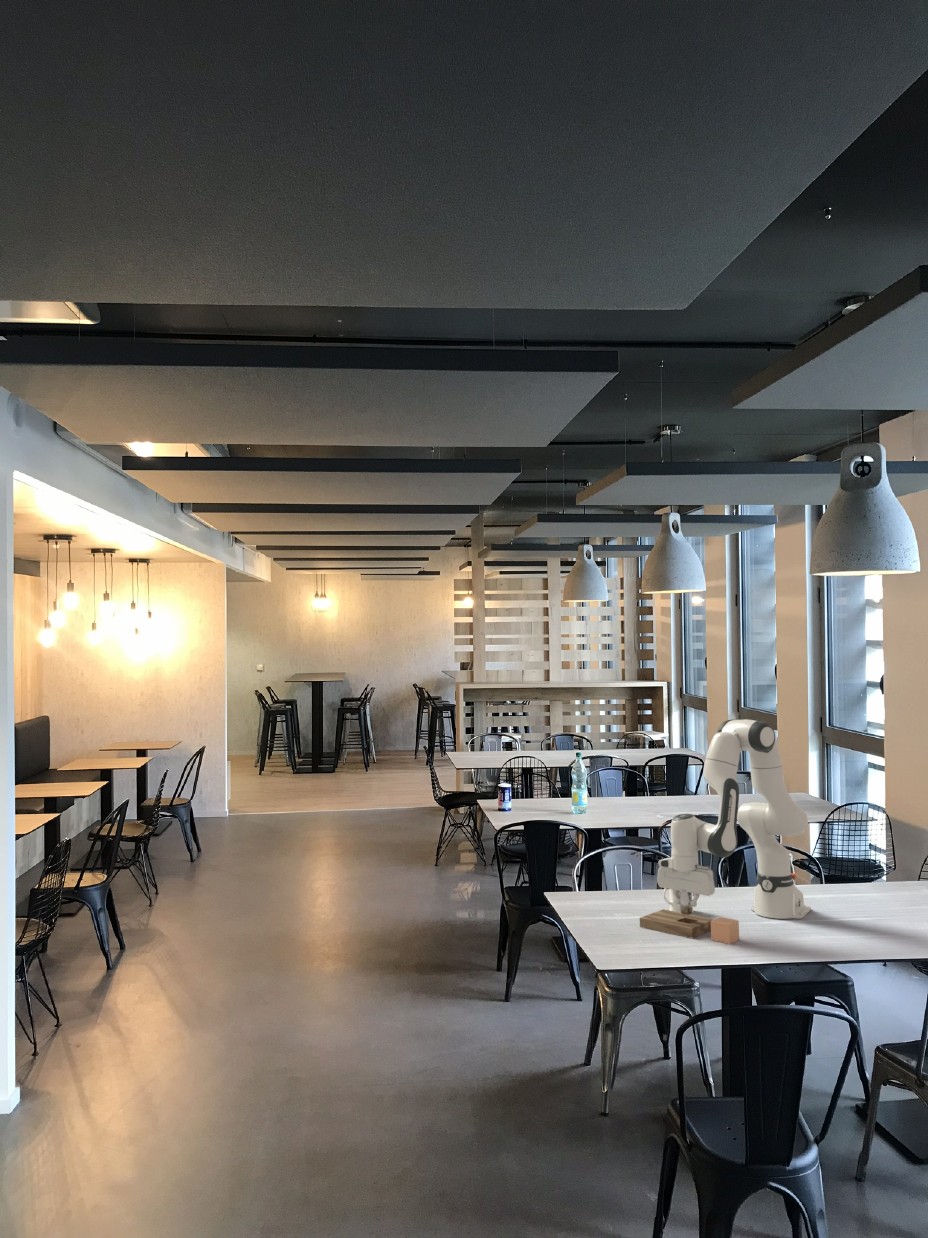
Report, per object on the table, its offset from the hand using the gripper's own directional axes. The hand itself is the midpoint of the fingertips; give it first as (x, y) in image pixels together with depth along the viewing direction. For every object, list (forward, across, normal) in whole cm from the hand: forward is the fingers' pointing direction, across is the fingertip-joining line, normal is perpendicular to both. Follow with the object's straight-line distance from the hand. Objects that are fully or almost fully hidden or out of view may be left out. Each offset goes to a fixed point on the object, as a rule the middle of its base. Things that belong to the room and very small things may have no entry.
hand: (686, 905), depth 288 cm
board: (+8, +4, 0) cm, 9 cm away
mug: (+8, +15, -18) cm, 25 cm away
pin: (+3, 0, 0) cm, 3 cm away
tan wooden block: (+8, -15, +2) cm, 17 cm away
